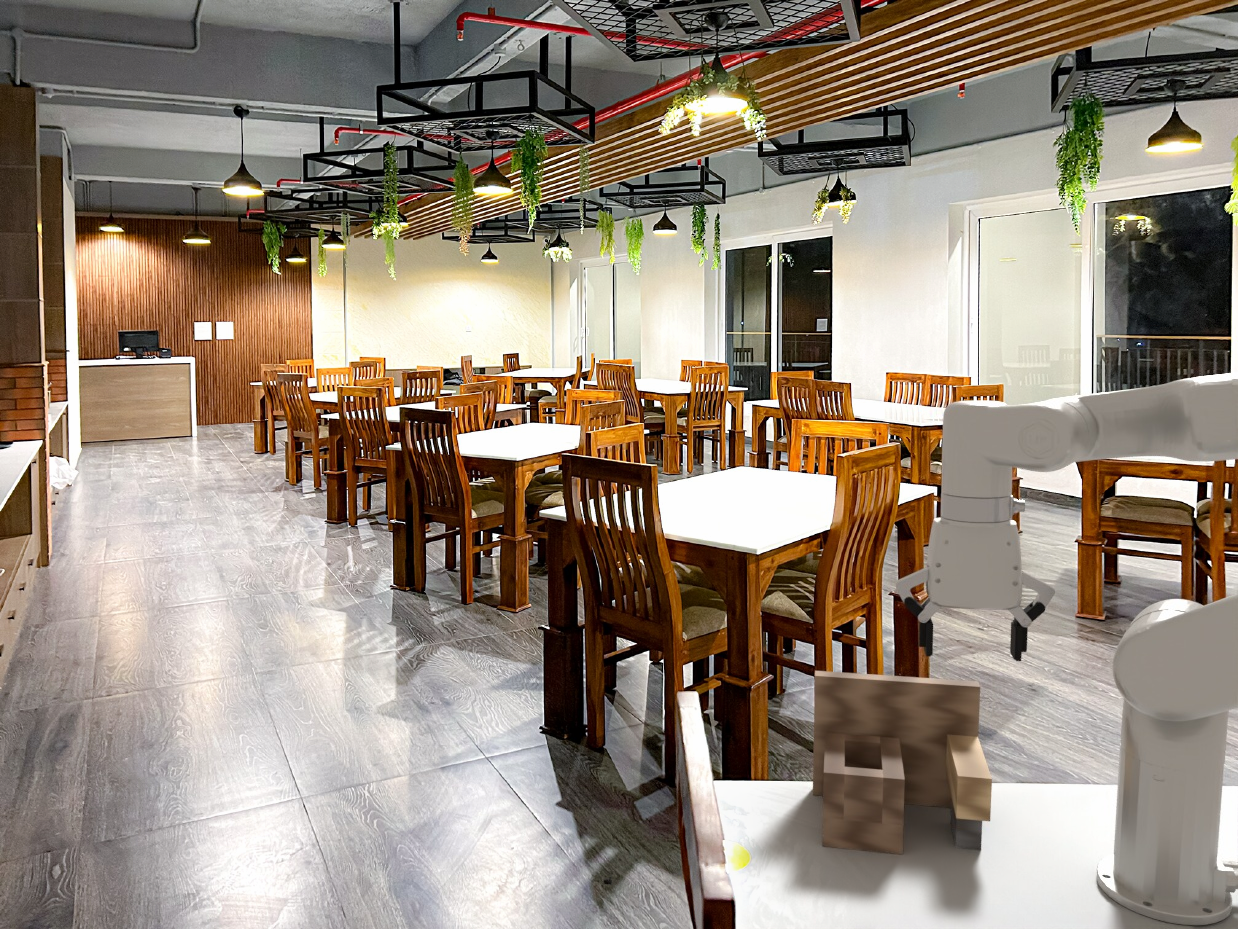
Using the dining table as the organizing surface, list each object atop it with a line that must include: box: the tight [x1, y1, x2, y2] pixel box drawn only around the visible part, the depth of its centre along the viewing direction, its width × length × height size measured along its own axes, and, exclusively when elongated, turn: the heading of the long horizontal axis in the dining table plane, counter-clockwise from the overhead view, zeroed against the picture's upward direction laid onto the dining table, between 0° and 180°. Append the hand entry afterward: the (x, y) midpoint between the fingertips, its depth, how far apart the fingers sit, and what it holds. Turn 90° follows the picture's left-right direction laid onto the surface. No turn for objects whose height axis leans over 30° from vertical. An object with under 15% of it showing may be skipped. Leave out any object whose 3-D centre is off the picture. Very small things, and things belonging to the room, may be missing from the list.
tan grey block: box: [946, 734, 993, 851], centre depth 116 cm, size 4×12×10 cm, turn 167°
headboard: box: [812, 670, 981, 855], centre depth 119 cm, size 20×15×16 cm
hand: (971, 655), depth 114 cm, fingers open, 9 cm apart
